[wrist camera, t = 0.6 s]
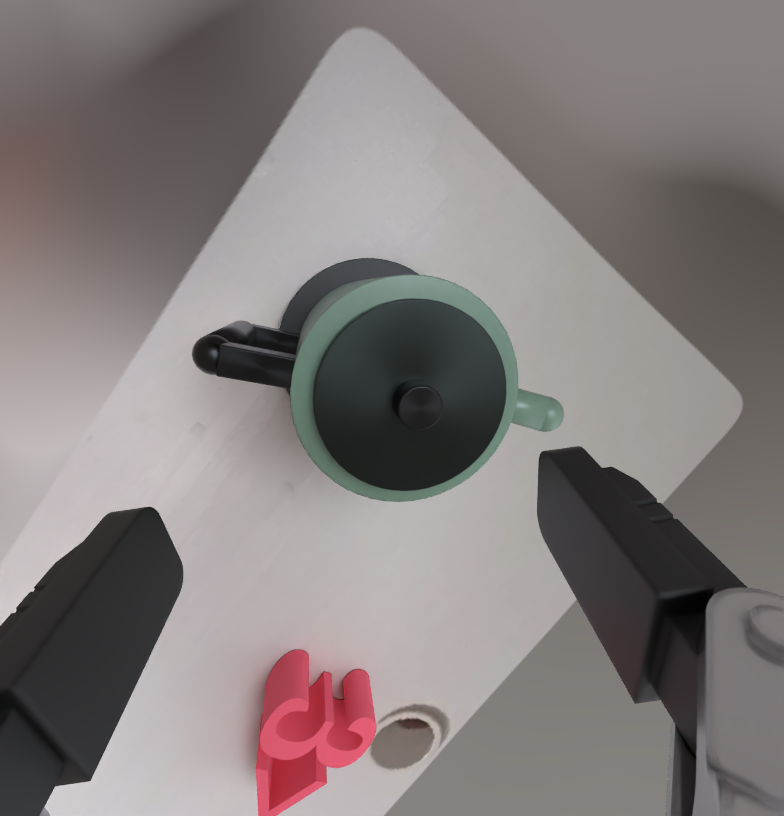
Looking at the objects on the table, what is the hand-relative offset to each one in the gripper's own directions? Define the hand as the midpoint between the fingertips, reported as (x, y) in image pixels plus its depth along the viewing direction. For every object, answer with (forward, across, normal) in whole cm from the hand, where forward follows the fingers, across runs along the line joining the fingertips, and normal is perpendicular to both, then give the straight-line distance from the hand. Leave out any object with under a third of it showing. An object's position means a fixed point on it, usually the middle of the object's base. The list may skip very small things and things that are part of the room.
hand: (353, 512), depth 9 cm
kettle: (+24, 0, +4) cm, 24 cm away
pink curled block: (+18, +12, +39) cm, 45 cm away
